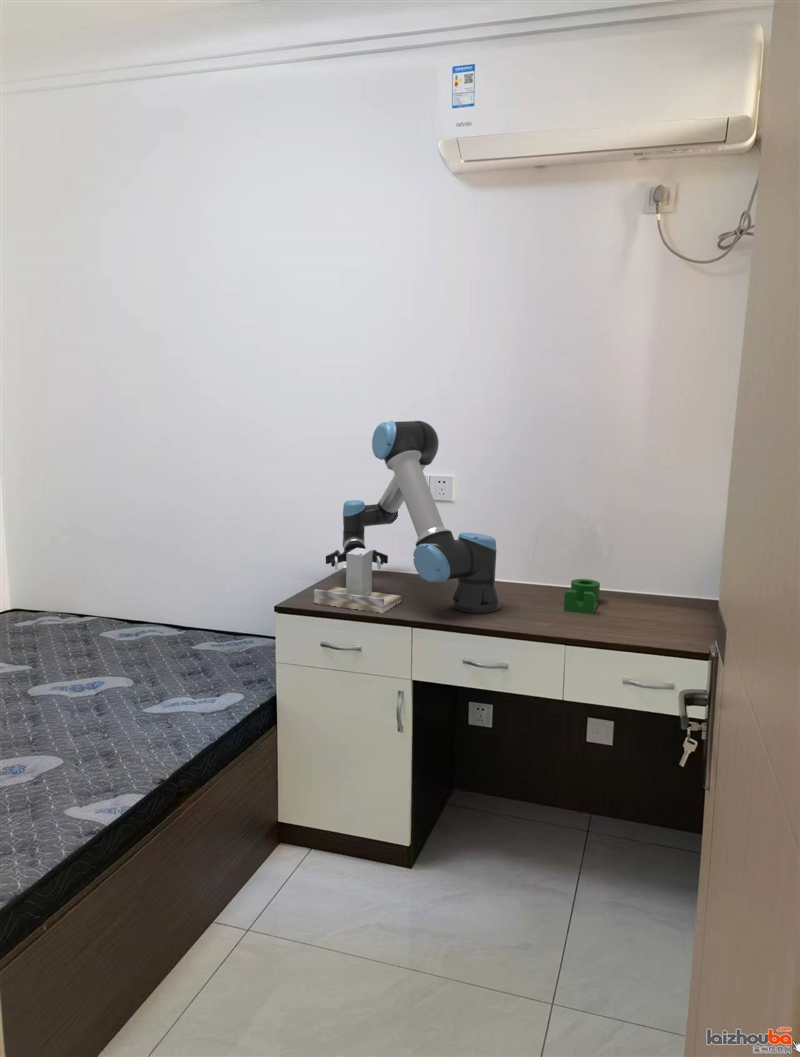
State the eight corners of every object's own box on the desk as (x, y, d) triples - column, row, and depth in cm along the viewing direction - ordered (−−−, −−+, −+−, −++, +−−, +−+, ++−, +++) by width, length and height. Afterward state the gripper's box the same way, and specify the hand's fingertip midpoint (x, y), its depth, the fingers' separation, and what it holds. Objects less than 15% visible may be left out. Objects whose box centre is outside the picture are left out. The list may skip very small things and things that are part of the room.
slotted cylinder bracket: (572, 596, 253) (573, 578, 251) (600, 599, 249) (601, 580, 248) (563, 611, 236) (564, 591, 235) (593, 614, 233) (594, 594, 232)
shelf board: (401, 601, 244) (401, 588, 243) (382, 613, 231) (382, 599, 230) (335, 592, 253) (335, 580, 252) (313, 603, 240) (313, 590, 240)
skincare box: (355, 591, 247) (355, 547, 244) (372, 593, 245) (373, 548, 242) (345, 598, 239) (345, 552, 237) (362, 600, 237) (363, 554, 235)
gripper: (391, 560, 263) (397, 576, 242) (318, 561, 261) (318, 577, 240) (391, 539, 262) (397, 553, 241) (318, 540, 259) (318, 554, 238)
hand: (358, 565), depth 240 cm, fingers open, 13 cm apart
